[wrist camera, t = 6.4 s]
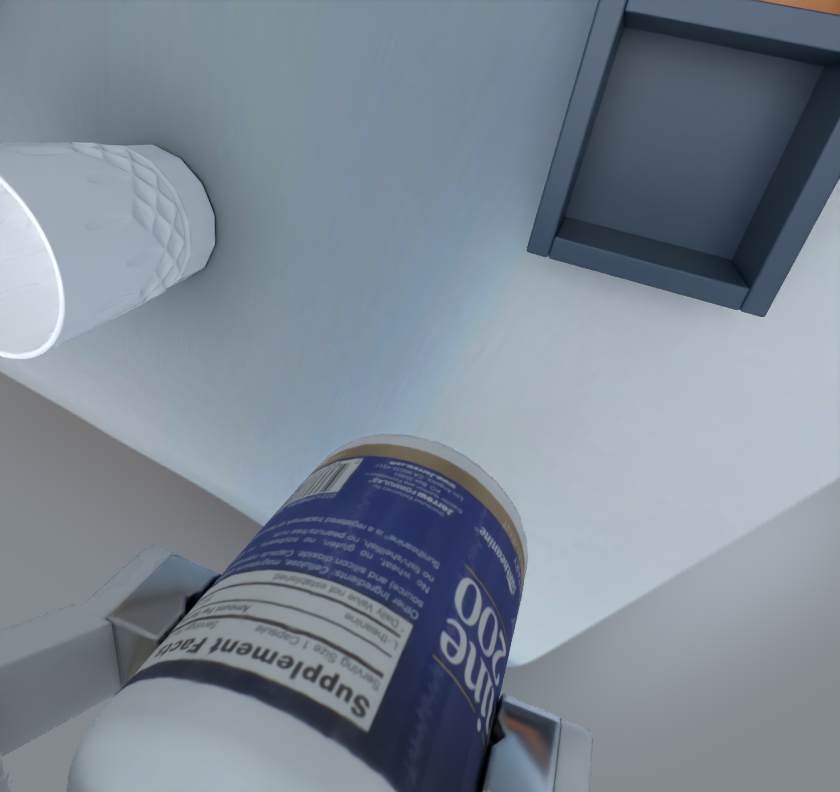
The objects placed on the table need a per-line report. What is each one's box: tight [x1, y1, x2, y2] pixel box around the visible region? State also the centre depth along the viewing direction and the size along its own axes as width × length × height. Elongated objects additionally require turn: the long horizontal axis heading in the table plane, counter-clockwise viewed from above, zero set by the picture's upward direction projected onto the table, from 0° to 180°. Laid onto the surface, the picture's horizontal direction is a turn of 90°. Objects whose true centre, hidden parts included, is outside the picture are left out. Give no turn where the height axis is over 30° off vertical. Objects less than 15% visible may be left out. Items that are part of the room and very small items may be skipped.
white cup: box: [0, 142, 215, 359], centre depth 25 cm, size 8×8×10 cm
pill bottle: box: [67, 434, 528, 792], centre depth 9 cm, size 5×5×10 cm
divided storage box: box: [527, 0, 840, 317], centre depth 17 cm, size 8×15×5 cm, turn 169°
